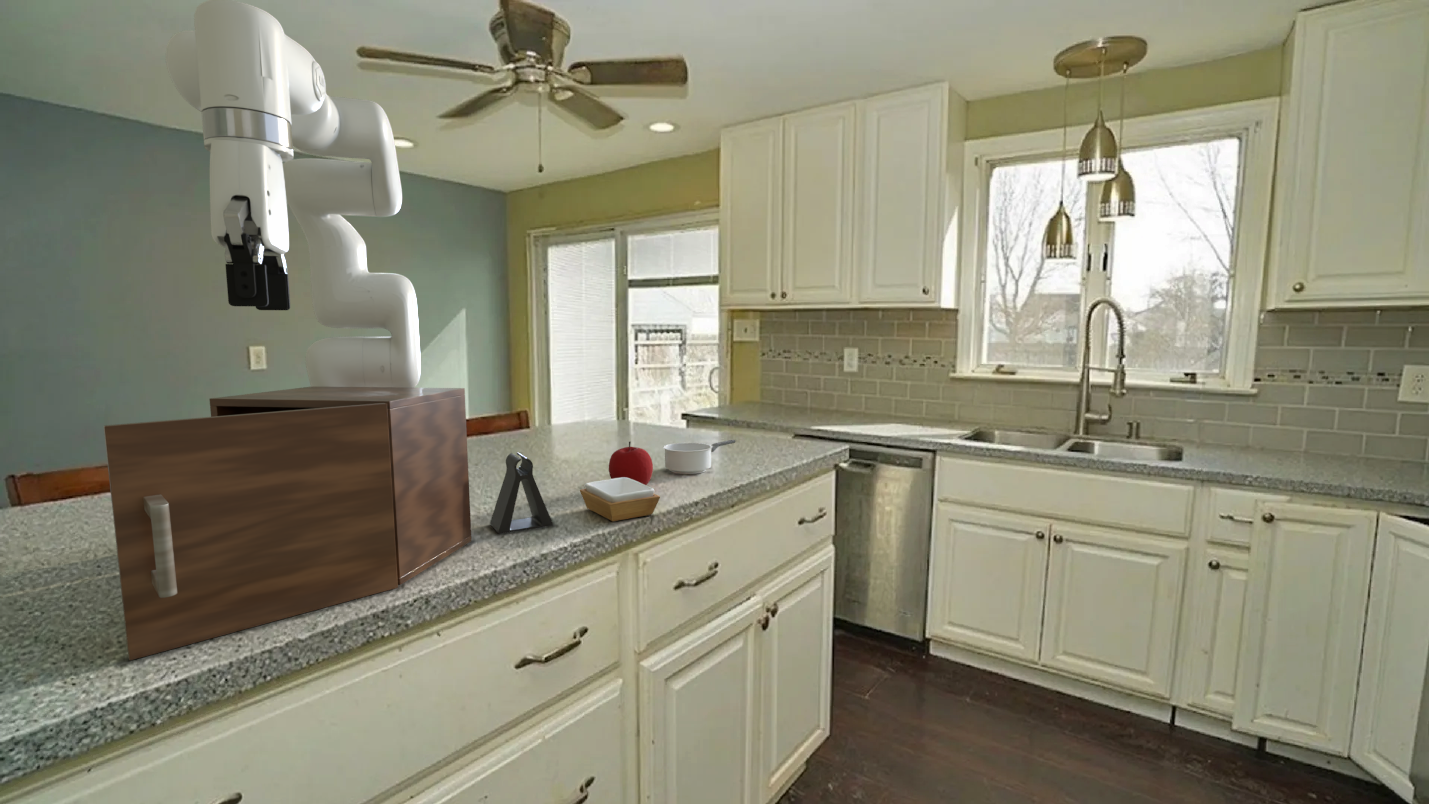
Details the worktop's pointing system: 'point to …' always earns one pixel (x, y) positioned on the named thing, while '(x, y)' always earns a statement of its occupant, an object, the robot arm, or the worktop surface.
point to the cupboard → (401, 460)
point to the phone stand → (509, 494)
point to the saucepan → (690, 456)
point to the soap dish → (619, 498)
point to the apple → (631, 464)
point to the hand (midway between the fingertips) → (262, 308)
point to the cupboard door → (248, 519)
